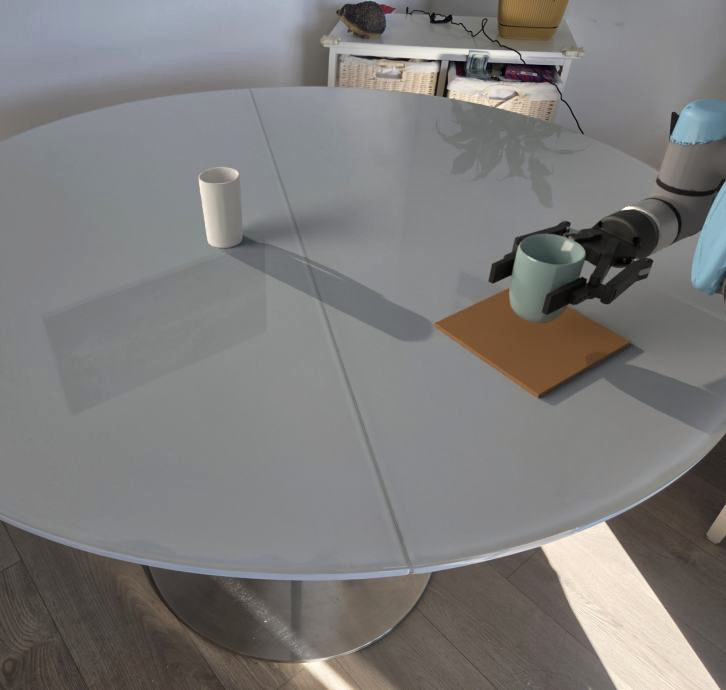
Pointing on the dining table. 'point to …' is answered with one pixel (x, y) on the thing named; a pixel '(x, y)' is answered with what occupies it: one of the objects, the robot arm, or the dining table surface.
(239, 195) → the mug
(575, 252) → the cup
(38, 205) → the dining table surface
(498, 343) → the cork mat
